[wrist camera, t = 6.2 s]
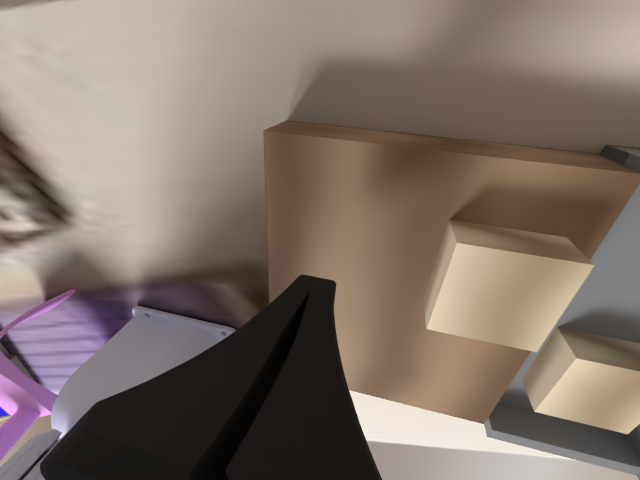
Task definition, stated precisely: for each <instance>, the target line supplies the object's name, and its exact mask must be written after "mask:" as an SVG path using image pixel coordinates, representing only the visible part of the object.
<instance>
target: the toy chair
mask: <svg viewBox="0 0 640 480" xmlns="http://www.w3.org/2000/svg"><path fill="white" fill-rule="evenodd" d="M75 292H76V290H75V289H74V288H73V289H71V290H69V291H67V292H65V293H63V294H61V295H59V296H56V297H54V298H52V299H50V300H48V301H46V302H44V303H42V304H40V305H39V306H37V307H35V308H33V309H31V310H29V311H28V312H26V313H25V314H23V315H21V316H20V317H18V318H17V319H16V320H14V321H13V322H11V323H10V324H9V325H7V326H6V327H5V328H4V329H2V330H1V331H0V339H1V338H2V337H3V335H4V334H5V333H6V332H7V331H8V330H10V329H11V328H13V327H14V326H16V325H18V324H20V323H22V322H24V321H26V320H28V319H30V318H33V317H35V316H37V315H40V314H43V313H45V312H48V311H50V310H51V309H53V308H54V307H55V306H57V305H58V304H60V303H61V302H62V301H64V300H65V299H67V298H68V297H69V296H71V295H72V294H74V293H75ZM57 396H58V395H56V394H55V393H53V392H51V391H50V390H48V389H46V388H45V387H43V386H41V385H39V384H38V383H36V382H34V381H33V380H31V379H30V378H29V377H27V376H26V375H25V374H24V373H22V372H21V371H20V370H19V369H18V368H17V367H16V366H15V365H14V364H13V363H12V362H11V361H10V360H9V359H8V358H7V357H6V356H5V355H4V354H3V353H2V352H1V350H0V407H1V408H2V409H3V410H5V411H6V412H7V413H8V414H9V415H11V417H10V418H9V419H8V420H7V421H6V422H5V423H4V424H3V425H2V426H1V427H0V461H1V460H2V459H3V457H4V456H5V455H6V454H7V453H8V452H9V450H10V449H11V448H12V447H13V446H14V445H15V443H16V442H17V441H18V440H19V439H20V437H21V436H22V435H23V434H24V433H25V432H26V430H28V428H29V427H30V426H31V425H32V424H33V423H34V421H35V420H36V419H37V418H38V417H41V416H47V415H50V414H51V413H52V408H53V405H54V403H55V400H56V398H57Z"/></svg>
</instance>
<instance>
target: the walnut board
mask: <svg viewBox="0 0 640 480" xmlns="http://www.w3.org/2000/svg"><path fill="white" fill-rule="evenodd" d="M264 158H265V188H266V219H267V249H268V280H269V304H270V303H271V302H272V301H273V300H274V299H276V298H277V297H278V296H279V295H280V294H281V293H282V292H283V291H284V290H285V289H286V288H287V287H288V286H289V285H290V284H291V283H292V282H293V281H294V280H295V279H296V278H297V277H298V276H300V275H301V274H303V275H309V276H314V277H319V278H324V279H329V280H334V281H335V282H336V293H335V301H334V317H335V328H336V335H337V341H338V347H339V352H340V357H341V362H342V366H343V370H344V374H345V378H346V381H347V385H348V389H349V390H351V391H355V392H359V393H363V394H367V395H371V396H375V397H379V398H383V399H387V400H391V401H395V402H399V403H403V404H407V405H410V406H414V407H418V408H422V409H426V410H430V411H434V412H438V413H442V414H446V415H450V416H454V417H458V418H462V419H466V420H470V421H474V422H478V423H482V424H484V423H485V422H486V420H487V419H488V417H489V416H490V414H491V413H492V411H493V410H494V408H495V406H496V405H497V403H498V402H499V400H500V399H501V397H502V396H503V394H504V393H505V391H506V389H507V388H508V386H509V385H510V383H511V382H512V380H513V379H514V377H515V376H516V374H517V372H518V371H519V369H520V368H521V366H522V365H523V363H524V362H525V360H526V359H527V357H528V355H529V354H530V352H531V351H528V350H523V349H519V348H514V347H509V346H504V345H500V344H495V343H490V342H485V341H480V340H476V339H471V338H466V337H461V336H457V335H452V334H447V333H442V332H438V331H433V330H428V329H426V320H425V311H424V302H423V299H424V296H425V292H426V289H427V286H428V283H429V280H430V277H431V274H432V271H433V268H434V264H435V261H436V258H437V255H438V252H439V249H440V246H441V243H442V240H443V236H444V233H445V230H446V227H447V224H448V221H449V220H455V221H461V222H468V223H475V224H481V225H488V226H495V227H501V228H508V229H515V230H521V231H528V232H535V233H541V234H548V235H555V236H561V237H567V238H568V239H569V240H570V241H571V242H572V243H573V244H574V245H575V246H576V247H577V248H578V249H579V250H580V251H581V252H582V253H583V254H584V255H585V256H586V257H587V258H588V259H589V260H591V258H592V257H593V255H594V253H595V252H596V250H597V249H598V247H599V246H600V244H601V243H602V241H603V240H604V238H605V237H606V235H607V233H608V232H609V230H610V229H611V227H612V226H613V224H614V223H615V221H616V220H617V218H618V216H619V215H620V213H621V212H622V210H623V209H624V207H625V206H626V204H627V203H628V201H629V199H630V198H631V196H632V195H633V193H634V192H635V190H636V189H637V187H638V186H639V184H640V172H638V171H636V170H634V169H631V168H629V167H626V166H624V165H622V164H619V163H617V162H614V161H612V160H610V159H607V158H605V157H602V156H600V155H597V154H593V153H583V152H574V151H565V150H555V149H546V148H536V147H527V146H518V145H508V144H499V143H490V142H480V141H471V140H462V139H452V138H443V137H434V136H424V135H415V134H406V133H396V132H387V131H378V130H368V129H359V128H350V127H340V126H331V125H322V124H312V123H303V122H294V121H285V122H282V123H280V124H278V125H276V126H273V127H271V128H269V129H267V130H264Z"/></svg>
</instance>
